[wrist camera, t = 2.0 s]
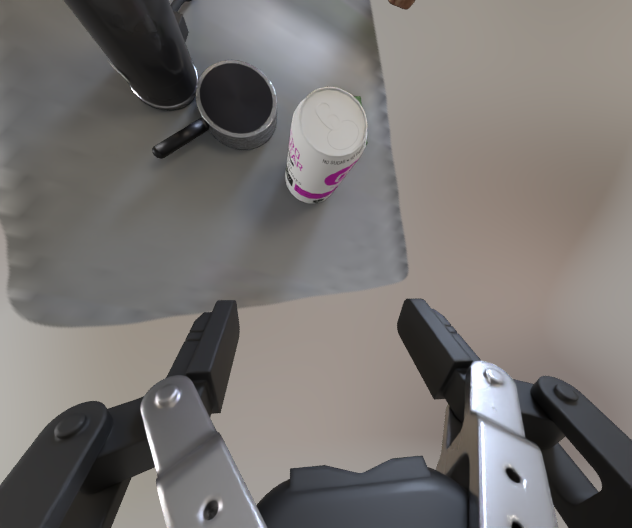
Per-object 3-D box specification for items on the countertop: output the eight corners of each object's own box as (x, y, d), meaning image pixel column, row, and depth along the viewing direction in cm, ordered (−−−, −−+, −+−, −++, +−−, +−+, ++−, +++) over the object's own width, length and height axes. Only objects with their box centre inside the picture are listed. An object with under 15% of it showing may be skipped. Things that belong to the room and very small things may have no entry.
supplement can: (344, 184, 39) (388, 131, 24) (307, 214, 37) (329, 178, 23) (313, 145, 38) (338, 65, 23) (274, 174, 36) (274, 110, 22)
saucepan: (247, 67, 36) (244, 44, 33) (290, 126, 37) (292, 110, 34) (137, 132, 33) (120, 115, 29) (188, 194, 34) (178, 185, 31)
